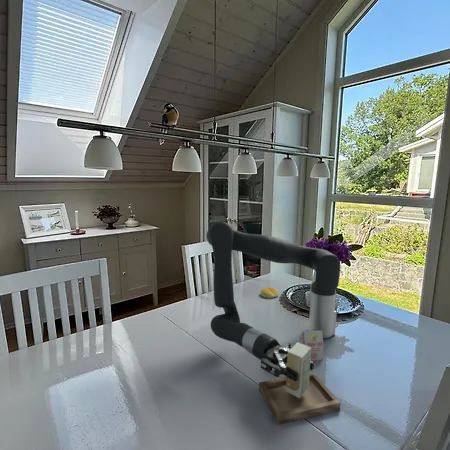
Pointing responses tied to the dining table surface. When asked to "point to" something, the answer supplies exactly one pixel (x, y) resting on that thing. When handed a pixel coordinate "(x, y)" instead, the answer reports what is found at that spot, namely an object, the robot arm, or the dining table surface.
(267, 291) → the bread roll
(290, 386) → the skincare box
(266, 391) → the walnut tray
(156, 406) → the dining table surface
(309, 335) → the white boxy package
